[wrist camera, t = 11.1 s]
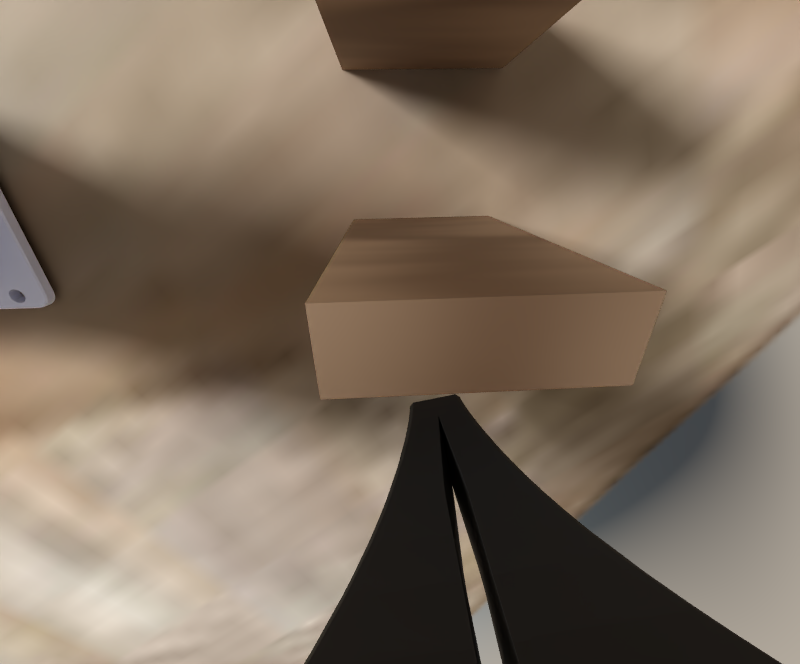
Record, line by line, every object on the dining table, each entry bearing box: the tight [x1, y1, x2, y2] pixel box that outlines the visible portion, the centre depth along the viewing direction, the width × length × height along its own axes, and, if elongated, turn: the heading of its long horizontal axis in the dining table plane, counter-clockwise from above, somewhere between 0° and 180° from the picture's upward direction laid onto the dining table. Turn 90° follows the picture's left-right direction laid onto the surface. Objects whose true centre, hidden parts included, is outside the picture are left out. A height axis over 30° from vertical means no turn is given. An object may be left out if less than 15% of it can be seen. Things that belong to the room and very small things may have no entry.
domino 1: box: [305, 216, 667, 400], centre depth 9 cm, size 5×2×8 cm, turn 91°
